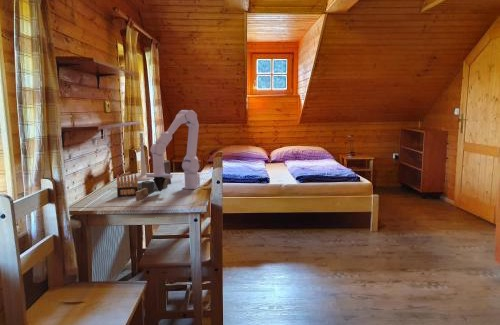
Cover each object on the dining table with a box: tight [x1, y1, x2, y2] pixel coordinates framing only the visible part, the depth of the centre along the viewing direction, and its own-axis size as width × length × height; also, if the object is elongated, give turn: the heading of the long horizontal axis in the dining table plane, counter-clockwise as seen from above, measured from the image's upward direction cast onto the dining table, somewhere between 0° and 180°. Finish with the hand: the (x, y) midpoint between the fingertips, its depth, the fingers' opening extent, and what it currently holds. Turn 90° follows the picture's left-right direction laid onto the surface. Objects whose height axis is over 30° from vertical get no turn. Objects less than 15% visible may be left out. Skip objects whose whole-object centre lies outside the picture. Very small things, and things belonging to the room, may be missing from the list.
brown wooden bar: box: [135, 180, 168, 202], centre depth 205 cm, size 30×2×5 cm, turn 164°
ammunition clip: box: [116, 173, 139, 198], centre depth 200 cm, size 11×2×12 cm, turn 100°
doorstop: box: [138, 180, 155, 195], centre depth 209 cm, size 8×4×6 cm, turn 57°
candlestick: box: [136, 132, 154, 182], centre depth 245 cm, size 13×13×30 cm
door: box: [134, 181, 158, 190], centre depth 214 cm, size 16×1×4 cm, turn 105°
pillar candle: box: [164, 159, 172, 185], centre depth 229 cm, size 10×10×15 cm
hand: (160, 190), depth 205 cm, fingers closed
